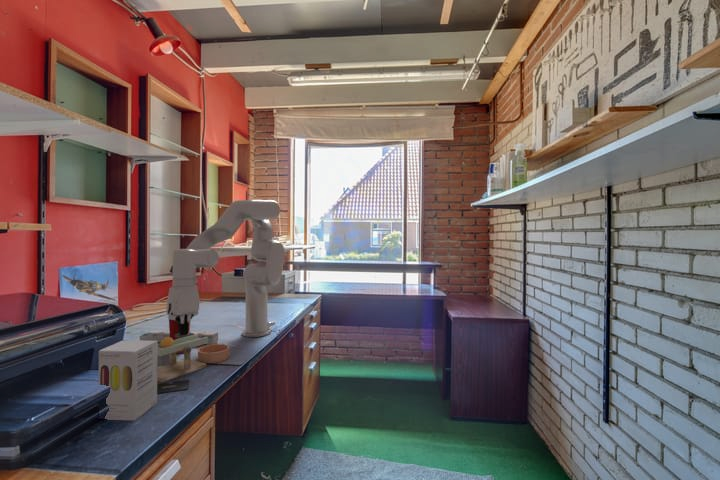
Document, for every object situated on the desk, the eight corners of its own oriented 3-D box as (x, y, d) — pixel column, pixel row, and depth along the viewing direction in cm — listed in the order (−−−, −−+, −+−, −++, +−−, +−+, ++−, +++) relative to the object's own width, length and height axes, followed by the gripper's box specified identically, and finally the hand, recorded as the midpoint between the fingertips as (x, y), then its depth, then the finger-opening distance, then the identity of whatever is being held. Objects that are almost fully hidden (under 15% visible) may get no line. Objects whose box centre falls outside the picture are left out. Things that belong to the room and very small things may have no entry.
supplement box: (96, 420, 84) (96, 350, 83) (122, 402, 93) (122, 339, 93) (135, 421, 83) (135, 351, 83) (158, 402, 93) (158, 339, 92)
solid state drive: (151, 386, 103) (151, 384, 103) (189, 381, 107) (189, 379, 107) (147, 397, 97) (147, 394, 97) (187, 391, 100) (187, 388, 100)
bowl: (217, 351, 133) (217, 342, 133) (235, 356, 128) (235, 347, 128) (191, 359, 125) (191, 349, 125) (209, 365, 119) (209, 355, 119)
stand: (187, 360, 124) (187, 337, 124) (206, 366, 118) (206, 343, 118) (142, 374, 111) (142, 349, 111) (161, 382, 105) (161, 356, 105)
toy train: (145, 340, 147) (145, 328, 147) (218, 343, 145) (218, 331, 145) (138, 344, 142) (138, 331, 142) (212, 346, 140) (212, 334, 140)
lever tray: (186, 344, 130) (186, 329, 130) (210, 352, 122) (210, 336, 122) (136, 358, 115) (136, 341, 115) (160, 367, 107) (160, 349, 107)
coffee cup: (183, 354, 129) (183, 313, 129) (162, 354, 129) (162, 313, 130) (196, 348, 137) (196, 309, 137) (176, 347, 138) (176, 309, 138)
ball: (170, 345, 115) (169, 334, 114) (176, 347, 113) (175, 336, 112) (159, 349, 112) (157, 338, 111) (165, 351, 110) (163, 340, 109)
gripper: (197, 280, 135) (196, 327, 135) (157, 284, 122) (156, 336, 122) (209, 281, 130) (208, 330, 131) (169, 286, 118) (168, 340, 118)
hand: (183, 333), depth 126 cm, fingers closed
